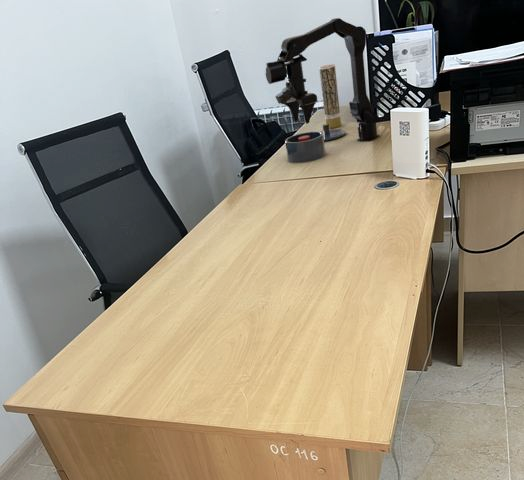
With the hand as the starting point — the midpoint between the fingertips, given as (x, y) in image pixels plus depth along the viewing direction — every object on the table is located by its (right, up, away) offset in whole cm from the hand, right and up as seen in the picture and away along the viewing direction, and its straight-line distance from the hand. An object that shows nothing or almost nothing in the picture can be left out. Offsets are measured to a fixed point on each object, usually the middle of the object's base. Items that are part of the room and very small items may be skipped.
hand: (301, 122), depth 205 cm
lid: (+13, +5, +27) cm, 30 cm away
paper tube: (+18, +15, +41) cm, 47 cm away
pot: (+2, -11, +7) cm, 13 cm away
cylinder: (+2, -10, +7) cm, 13 cm away
